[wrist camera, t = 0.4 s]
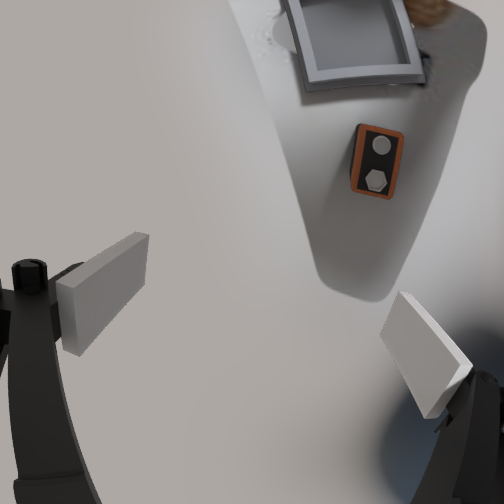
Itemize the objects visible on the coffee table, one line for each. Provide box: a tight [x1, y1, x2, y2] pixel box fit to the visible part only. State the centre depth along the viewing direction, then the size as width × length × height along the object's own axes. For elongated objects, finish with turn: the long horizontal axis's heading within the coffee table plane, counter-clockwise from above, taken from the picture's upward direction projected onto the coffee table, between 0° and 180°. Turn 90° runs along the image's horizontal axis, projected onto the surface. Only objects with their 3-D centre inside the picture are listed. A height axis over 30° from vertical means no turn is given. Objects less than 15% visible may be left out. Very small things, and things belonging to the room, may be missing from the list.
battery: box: [350, 124, 404, 199], centre depth 29 cm, size 4×7×10 cm, turn 175°
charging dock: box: [283, 0, 426, 92], centre depth 25 cm, size 15×15×3 cm
